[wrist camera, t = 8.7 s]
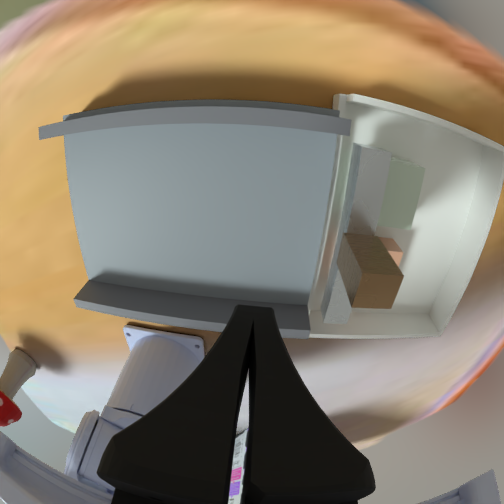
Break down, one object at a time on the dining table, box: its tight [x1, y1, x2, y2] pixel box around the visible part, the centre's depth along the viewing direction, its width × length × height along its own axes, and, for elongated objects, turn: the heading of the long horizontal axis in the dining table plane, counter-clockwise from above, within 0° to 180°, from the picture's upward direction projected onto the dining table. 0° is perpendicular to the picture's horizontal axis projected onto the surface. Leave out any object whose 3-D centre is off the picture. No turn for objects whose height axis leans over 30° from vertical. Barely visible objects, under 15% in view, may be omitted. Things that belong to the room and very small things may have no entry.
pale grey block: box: [320, 142, 404, 324], centre depth 13 cm, size 11×2×5 cm, turn 177°
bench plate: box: [39, 100, 352, 339], centre depth 16 cm, size 14×17×4 cm
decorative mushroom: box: [0, 349, 37, 427], centre depth 27 cm, size 10×9×15 cm
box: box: [308, 93, 504, 339], centre depth 17 cm, size 16×12×3 cm
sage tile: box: [377, 157, 425, 230], centre depth 15 cm, size 4×4×2 cm
